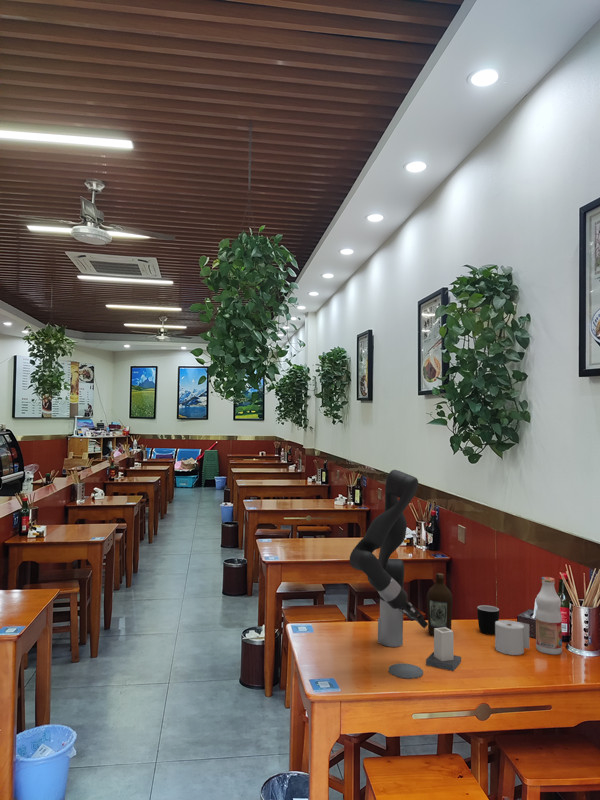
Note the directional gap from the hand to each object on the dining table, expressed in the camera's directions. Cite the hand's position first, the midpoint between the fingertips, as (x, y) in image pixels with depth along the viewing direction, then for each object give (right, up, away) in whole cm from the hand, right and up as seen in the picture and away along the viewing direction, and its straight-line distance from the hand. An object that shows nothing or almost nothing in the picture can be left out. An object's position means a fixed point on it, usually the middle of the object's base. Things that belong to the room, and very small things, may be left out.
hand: (419, 622), depth 204 cm
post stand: (+9, -16, +2) cm, 19 cm away
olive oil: (+16, -19, +34) cm, 42 cm away
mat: (-6, -15, -6) cm, 17 cm away
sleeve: (+9, -14, +2) cm, 17 cm away
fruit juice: (+55, -18, +18) cm, 61 cm away
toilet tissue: (+40, -18, +18) cm, 47 cm away
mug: (+38, -20, +40) cm, 58 cm away
